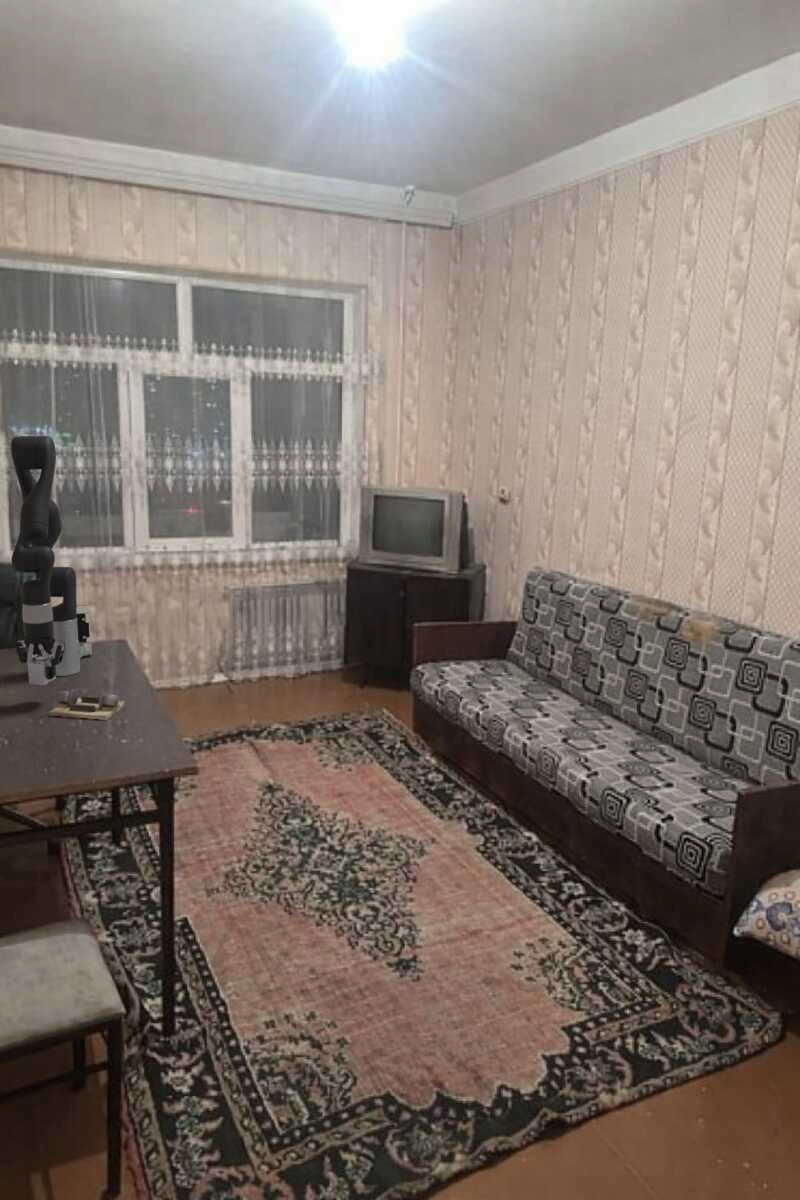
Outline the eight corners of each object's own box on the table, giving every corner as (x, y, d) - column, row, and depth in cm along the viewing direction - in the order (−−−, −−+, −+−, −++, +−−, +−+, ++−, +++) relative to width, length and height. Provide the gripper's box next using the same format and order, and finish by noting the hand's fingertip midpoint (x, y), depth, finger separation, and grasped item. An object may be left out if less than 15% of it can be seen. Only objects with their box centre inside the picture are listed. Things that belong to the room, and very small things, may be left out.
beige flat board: (72, 701, 234) (70, 682, 233) (126, 705, 233) (125, 685, 231) (49, 716, 223) (48, 695, 222) (106, 720, 221) (105, 699, 220)
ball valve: (91, 663, 271) (89, 609, 267) (63, 665, 268) (60, 611, 264) (93, 648, 287) (90, 598, 283) (66, 650, 285) (63, 599, 281)
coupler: (40, 676, 235) (39, 656, 233) (56, 677, 234) (54, 657, 233) (29, 683, 229) (27, 663, 228) (44, 685, 228) (43, 664, 227)
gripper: (69, 616, 230) (73, 675, 234) (20, 613, 232) (25, 671, 236) (55, 623, 223) (60, 684, 227) (5, 620, 224) (10, 680, 229)
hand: (42, 677), depth 231 cm, fingers closed on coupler, 4 cm apart
